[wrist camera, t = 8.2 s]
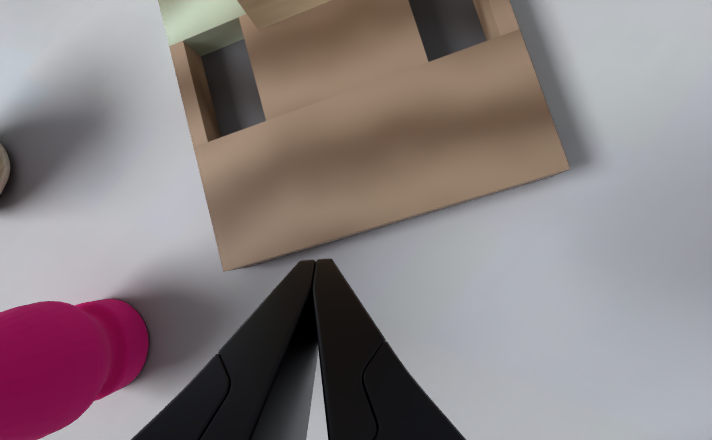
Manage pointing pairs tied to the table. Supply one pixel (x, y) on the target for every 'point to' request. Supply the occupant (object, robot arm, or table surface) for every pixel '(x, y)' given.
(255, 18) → the maple block
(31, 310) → the pepper mill
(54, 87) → the table surface
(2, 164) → the carving
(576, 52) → the table surface
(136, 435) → the robot arm
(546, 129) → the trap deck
